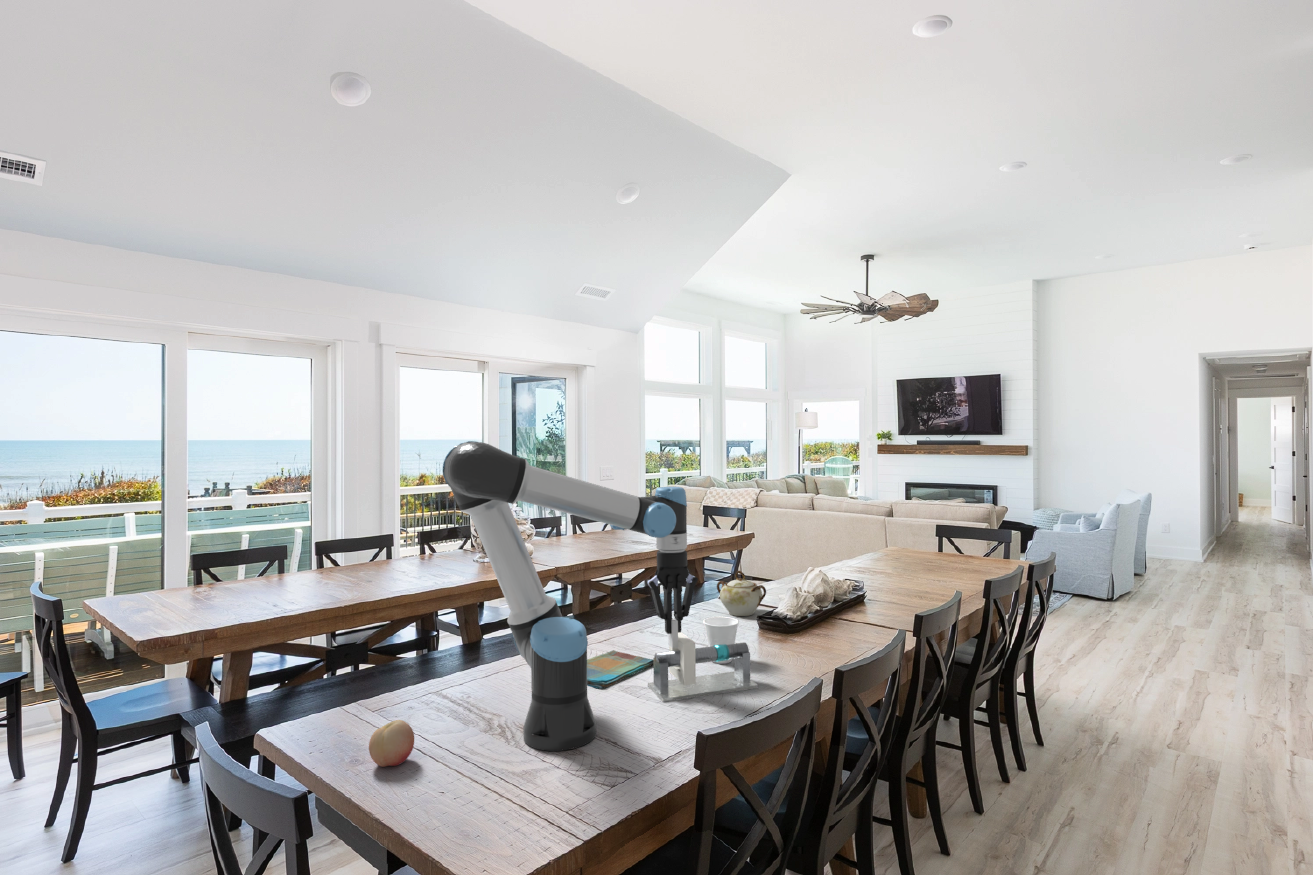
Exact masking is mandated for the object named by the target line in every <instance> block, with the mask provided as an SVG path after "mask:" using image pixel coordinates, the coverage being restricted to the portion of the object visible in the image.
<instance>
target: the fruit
mask: <svg viewBox="0 0 1313 875" xmlns="http://www.w3.org/2000/svg"><path fill="white" fill-rule="evenodd" d="M414 745H415V732H414V730H413V729H412V726H410V724H409V723H407V722H406V720H405V721H404V720H402V719H395V720H393V721H392V720H391V721H390V722H388V723H386V724H384V725H383V726H380V727H379V728H378V729H376V730H374V732H373V733H372V735H371V737H370V739H369V743H368V753H369V755H370V758H371V759H372V761H373V762H374V763H375V764H376V765H377V766H379V767H383V768H384V767H389V766H390V767H396V766H399V765H401V764H403V763H404V762H405V761H406V760H408V758H409V757H410V755H411V754H412V752H413V749H414Z"/></svg>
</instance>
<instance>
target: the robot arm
mask: <svg viewBox="0 0 1313 875" xmlns="http://www.w3.org/2000/svg"><path fill="white" fill-rule="evenodd" d="M442 476H443V479H444V481H445V483H446V485H448V487H449V488H450V490H451V492H452V494H453V497H454V500H455V501H456V504H457V506H458V508H459V511H460V512H462V513H465V514H467V515H469V516H470V518H471V520H472V524H473V525H474V529H475V531H476V532H477V535H478V537H479V539H480V540H479V541H480V542H481V544H482V547H483V550H484V551H485V554H486V556H487V559H488V561H489V563H490V566H491V568H492V570H493V572H494V576H495V578H496V580H497V582H498V585H499V588H500V589H501V591H502V595H503V597H504V599H505V601H506V603H507V606H508V609H509V611H510V612H509V615H508V617H507V620H506V622H507V624H508V627H509V629H510V631H511V633H512V635H513V641H514V643H513V644H514V646H515V648H516V651H517V652H518V654H519V655H520V656H521V657H522V658H523V660H525V662H526V663H527V665H528V666H529V667H530V671H531V672H530V674H531V675H530V676H531V677H530V678H531V682H530V683H531V700H530V704H529V708H528V711H527V714H526V718H525V721H524V724H523V732H522V733H523V741H524V743H525V744H526V745H527V746H529V747H531V748H534V749H537V750H542V751H548V752H549V751H550V752H551V751H553V752H559V751H568V750H574V749H577V748H581V747H583V746H586V745H587V744H588V743H590V742H592V741H593V740H594V738H595V737H596V735H597V723H596V719H595V716H594V713H593V710H592V706H591V704H590V701H589V698H588V697H589V696H588V686H587V659H588V645H589V641H588V637H587V629H586V627H585V625H584V624H583V623H582V622H580V621H579V620H577V619H574V618H572V619H571V618H570V617H564V616H563V614H562V613H561V610H560V607H559V605H558V603H557V601H556V598H555V597H553V596H549V595H547V593H546V592H545V589H544V586H543V584H542V582H541V579H540V577H539V575H538V572H537V569H536V567H535V564H534V562H533V560H532V557H531V554H530V552H529V550H528V548H527V546H526V543H525V541H524V538H523V536H522V533H521V530H520V529H519V526H518V524H517V521H516V519H515V516H514V514H513V511H512V509H511V506H510V504H512V505H514V504H515V503H517V502H524V503H527V504H532V505H535V506H539V507H541V508H545V509H548V510H549V509H550V510H553V511H557V512H561V513H564V514H565V513H566V514H569V515H573V516H577V517H579V518H584V519H587V520H591V521H595V522H599V523H602V524H603V523H604V524H607V525H609V526H610V527H611V529H613V530H614V531H619V530H621V531H625V530H629V531H632V532H635V533H640V534H643V535H646V536H647V535H648V536H649V537H651V538H656V544H655V545H656V549H657V552H656V571H655V573H654V576H653V577H652V578H651V579H646V584H647V585H648V588H650V592H651V596H652V599H653V604H654V608H655V612H656V616H657V617H658V618H660V619H661V620H664V631H665V633H666V634H667V635H668V647H669V646H671V647H672V648H677V647H678V633H680V632H682V621H683V620H684V618H685V617H688V616H689V614H690V609H691V605H692V600H693V599H692V598H693V596H694V595H693V594H694V589H695V586H696V585H697V582H698V581H699V579H698V577H697V576H694V575H693V574H690V571H689V569H688V551H687V548H688V531H687V530H688V529H687V527H688V526H687V515H688V514H687V510H688V509H687V507H688V504H687V492H686V490H685V488H683V487H680V486H661V487H660V486H659V487H656V489H655V493H654V495H651V496H637V495H634V494H630V493H626V492H623V491H620V490H617V489H613V488H609V487H606V486H602V485H599V484H595V483H592V482H588V481H585V480H582V479H578V478H574V477H572V476H568V475H565V474H560V473H557V472H555V471H554V472H553V471H551V470H547V469H544V468H541V467H537V466H533V465H530V463H529V462H528V460H527V459H526V458H522V457H519V456H516V455H514V454H511V453H509V452H506V451H504V450H502V449H499V448H498V447H496V446H493V445H491V444H489V443H486V442H480V441H475V440H474V441H473V440H472V441H471V440H469V441H464V442H460V443H459V444H457V445H454V447H453V448H451V449H450V450H449V452H448V453H446V456H445V457H444V460H443V463H442ZM685 582H686V585H685V587H684V588H685V589H684V593H683V596H682V592H683V585H684V583H685ZM659 583H660V585H661V586H662V591H663V602H662V597H661V594H660V590H659V587H658V586H659ZM682 597H683V598H682ZM672 598H673V599H672Z"/></svg>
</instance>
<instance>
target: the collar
mask: <svg viewBox="0 0 1313 875" xmlns="http://www.w3.org/2000/svg"><path fill="white" fill-rule="evenodd" d="M695 648H696V642H695V641H694V640H692V639H691V638H690V637H688V635H686V634H684V633H683V632H682V631H681V632H680V633H678V647H677V648H672V647H671V646H669V645H668V652H670V651H678V650H680V666H674V667H668V673H670V674H671V675H672V676H673V677H674V678H675V679H677V680H679V681H680V682H681V683H682V684H683V685H691V684H696V677H697V676H696V675H697V672H696V670H697V669H696V662H695Z"/></svg>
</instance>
